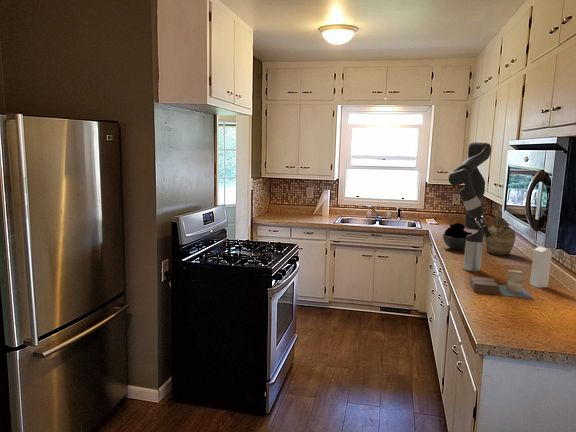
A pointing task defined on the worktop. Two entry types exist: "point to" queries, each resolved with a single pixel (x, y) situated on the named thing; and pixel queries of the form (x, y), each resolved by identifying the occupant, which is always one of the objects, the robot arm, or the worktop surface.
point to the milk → (540, 267)
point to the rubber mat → (514, 294)
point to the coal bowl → (456, 236)
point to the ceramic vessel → (499, 236)
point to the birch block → (514, 281)
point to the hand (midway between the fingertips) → (486, 234)
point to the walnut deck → (484, 285)
